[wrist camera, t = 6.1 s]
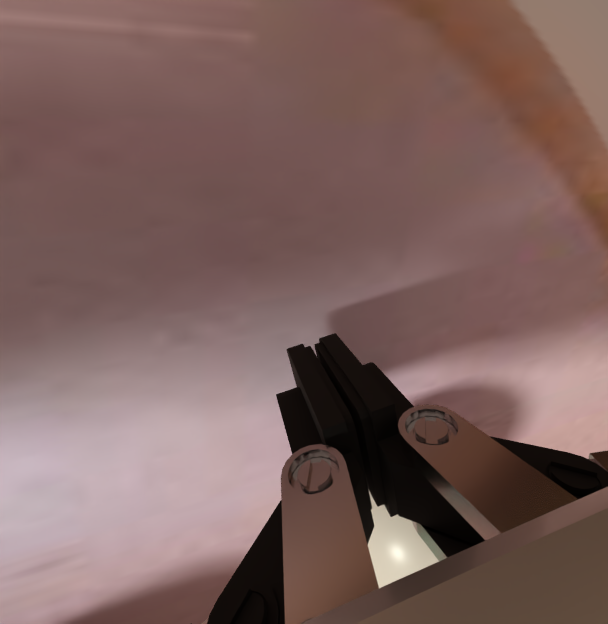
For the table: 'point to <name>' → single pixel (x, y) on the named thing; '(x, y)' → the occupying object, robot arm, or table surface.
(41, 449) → the table surface
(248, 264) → the table surface
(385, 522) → the cream ball
